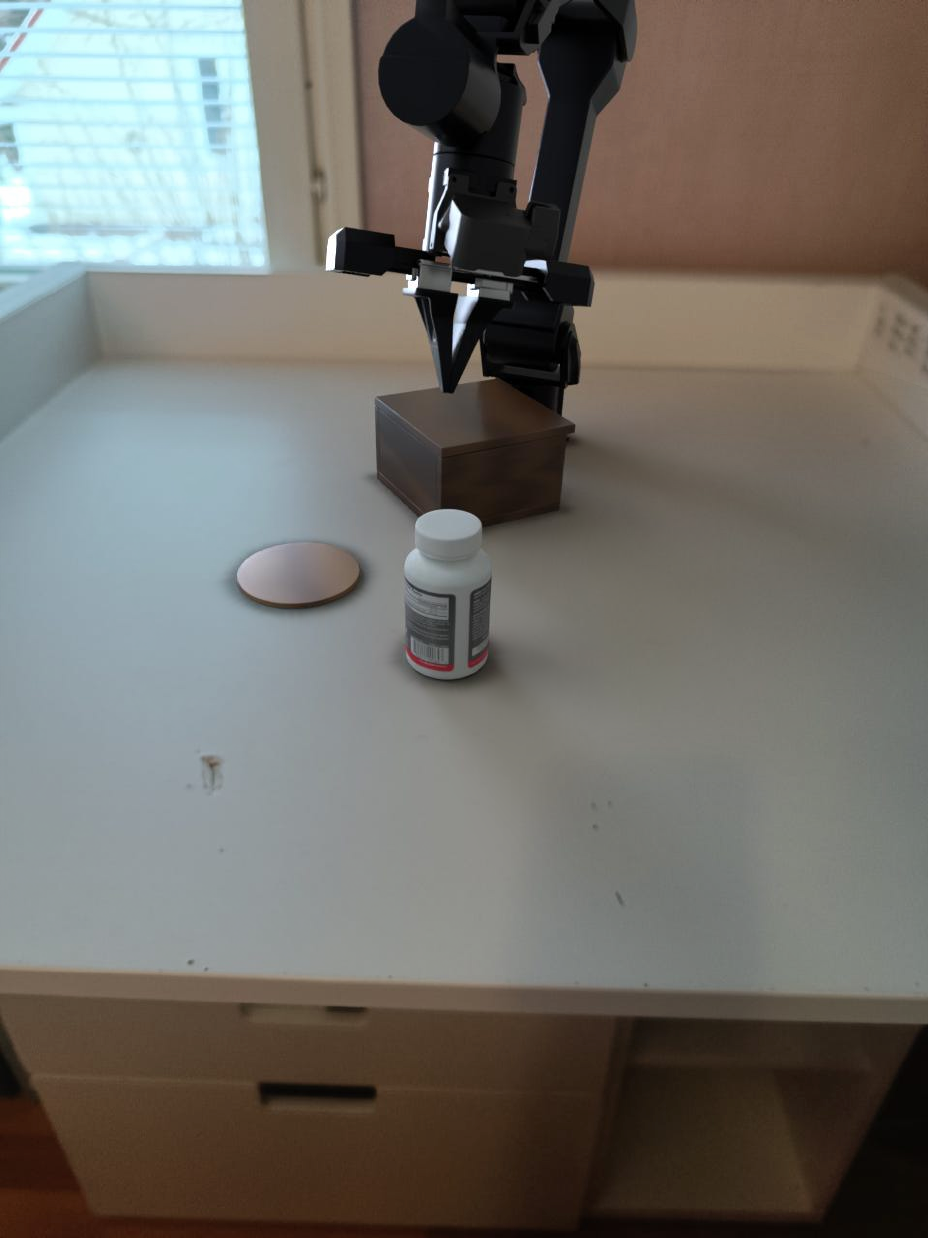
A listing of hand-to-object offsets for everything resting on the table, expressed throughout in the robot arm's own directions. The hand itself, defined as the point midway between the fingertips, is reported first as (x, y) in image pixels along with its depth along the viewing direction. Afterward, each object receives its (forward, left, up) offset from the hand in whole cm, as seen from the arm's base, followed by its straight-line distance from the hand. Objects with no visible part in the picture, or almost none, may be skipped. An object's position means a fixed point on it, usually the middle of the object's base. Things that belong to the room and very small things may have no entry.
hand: (446, 392), depth 66 cm
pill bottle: (+8, +16, -12) cm, 21 cm away
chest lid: (-5, -5, -5) cm, 9 cm away
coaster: (+13, +2, -11) cm, 18 cm away
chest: (-5, -5, -11) cm, 13 cm away
